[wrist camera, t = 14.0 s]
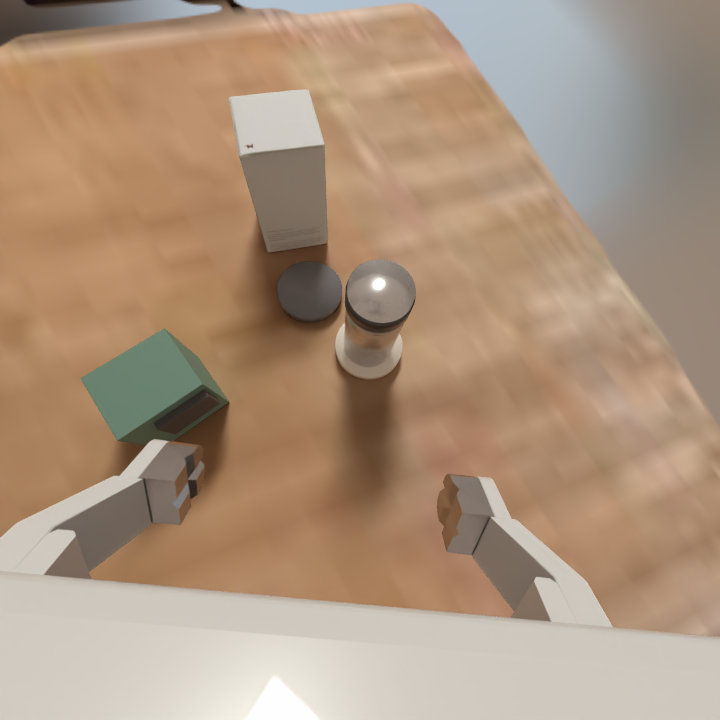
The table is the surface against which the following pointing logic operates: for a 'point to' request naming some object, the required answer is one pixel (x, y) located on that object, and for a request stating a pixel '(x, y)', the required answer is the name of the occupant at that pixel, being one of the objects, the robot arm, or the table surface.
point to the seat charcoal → (309, 291)
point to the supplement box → (283, 166)
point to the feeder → (154, 391)
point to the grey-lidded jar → (376, 310)
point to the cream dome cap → (366, 372)
